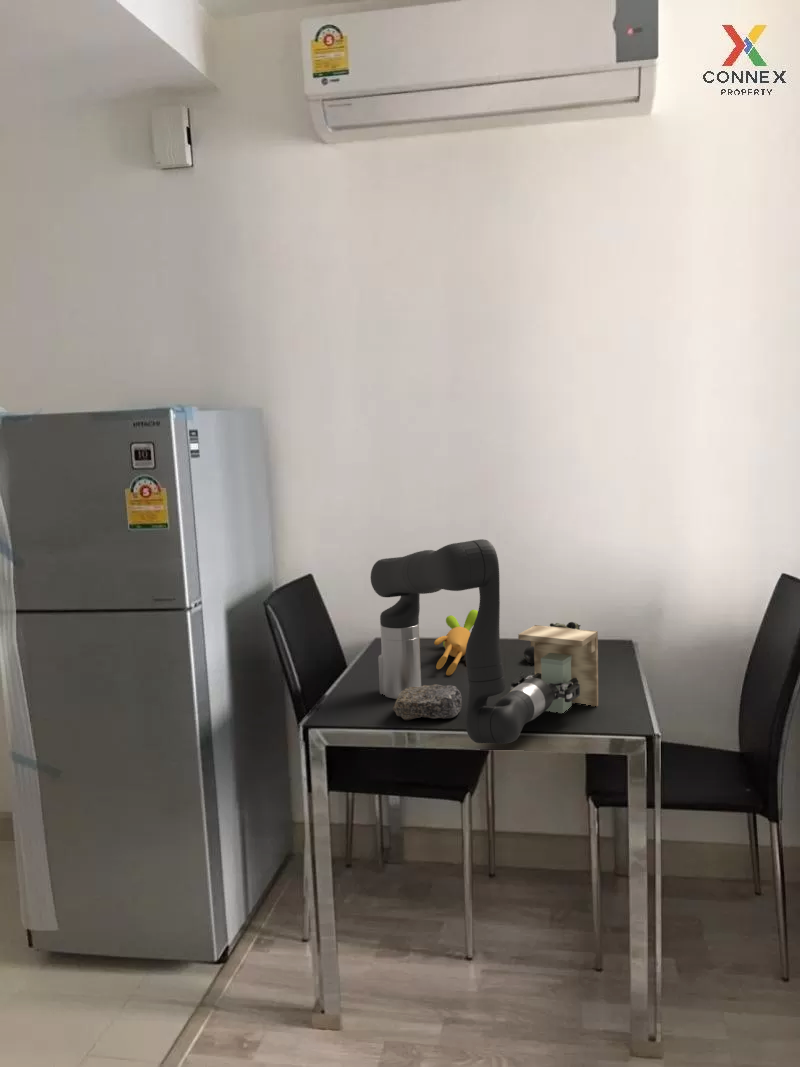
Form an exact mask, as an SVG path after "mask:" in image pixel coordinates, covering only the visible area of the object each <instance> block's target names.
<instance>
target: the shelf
mask: <svg viewBox="0 0 800 1067" xmlns="http://www.w3.org/2000/svg"><path fill="white" fill-rule="evenodd" d="M598 632H599V631H597V630H589V629H581V628H580V629H571V628H561V627H550V625H549V626H548V625H538V624H534V625H533V626H531V627H529V628H528V629H525V630H523V631H521V632H520V633H518V636H517V638H518V640H520V641H528V642H529V641H530V646H533V647H534V675H536V674H537V673H541V678H542V667H541V658H542V657H544V656H545V655H547V654H549V653H556V654H565V655H572V660H571V679H573V678H577V680H578V684H580V696H578V697H577V698H575V699H574V700H572V702H575V703H581V704H586V705H585V706H588V705H591V706H590V707H595V706H596V708H597V707H599V640H598V639H599V637H598V636H599V635H598ZM575 703H574V704H575ZM581 704H580V705H581Z"/></svg>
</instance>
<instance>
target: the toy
mask: <svg viewBox="0 0 800 1067" xmlns="http://www.w3.org/2000/svg"><path fill="white" fill-rule="evenodd" d="M477 614H478V610H477V609H471V610H470V611H469V612H468V614H467V616H466V618H465V621H464V624H463V626H461V624H460V623H459V621H458V620H457V618H456V617H455V616H454V615H448V616H447V617H446V618H445V623H446V625H447V627H449V628H450V630H449V631H448V632H447V634H446V635H442V636H439V637H437V638H436V639H435V640H434V641H433V643H434V645H435V646H439V645H441V644H442V645H443V648H444V649H445V650H444V652H443V655H442V656H441V657H440V658H439V659H438V660H437V663H436V665H435V667H436V669H437V670H440V669H442V668H443V667H444V665H445V664H446V663H447V660H448V657H449V656H451V657H454V659H453V661H452V662H451V664H450V665H449V666H448V667H447V669H446V672H445V674H446V676H451V675H453V673H455V671H456V670H457V667H458V664H459V662H460V661H461V658H462V657H463V656H465V653H466V646H467V642H468V639H469V636H470V633H471V631H470V630H472V628H473V626H474V623H475V620H476V617H477Z"/></svg>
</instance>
